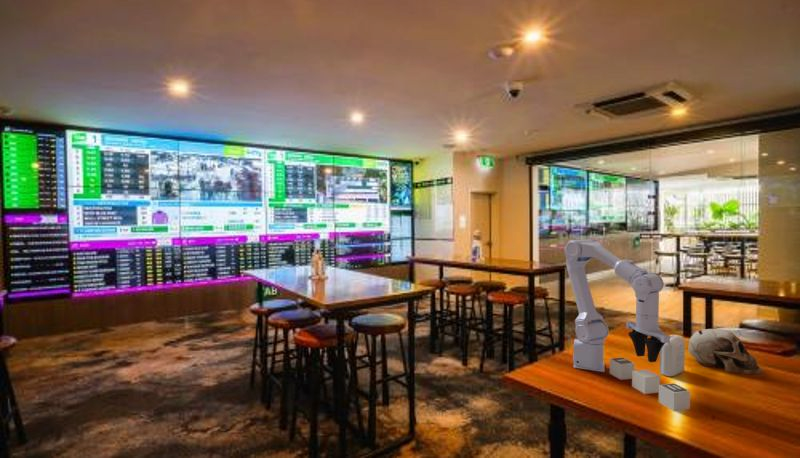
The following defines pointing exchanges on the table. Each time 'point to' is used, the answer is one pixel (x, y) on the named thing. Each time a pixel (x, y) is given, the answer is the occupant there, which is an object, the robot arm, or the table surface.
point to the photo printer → (672, 356)
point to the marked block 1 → (621, 368)
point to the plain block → (645, 381)
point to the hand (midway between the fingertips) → (646, 358)
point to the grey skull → (722, 351)
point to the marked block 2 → (674, 397)
